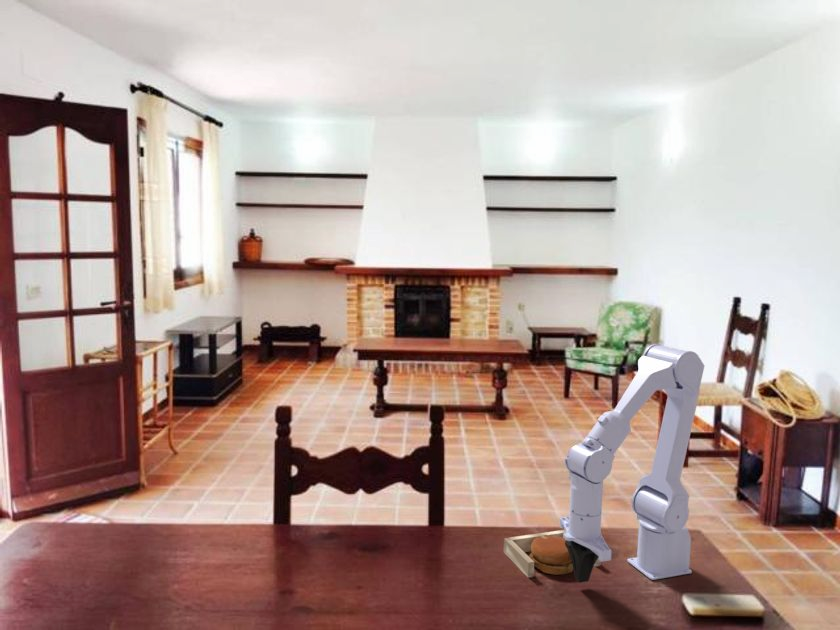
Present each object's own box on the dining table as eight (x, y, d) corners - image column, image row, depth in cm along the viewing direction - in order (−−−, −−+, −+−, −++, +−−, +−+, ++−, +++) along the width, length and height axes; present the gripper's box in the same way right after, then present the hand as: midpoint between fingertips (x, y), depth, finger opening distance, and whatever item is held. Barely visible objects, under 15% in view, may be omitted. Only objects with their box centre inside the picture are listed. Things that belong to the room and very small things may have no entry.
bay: (571, 542, 143) (572, 528, 143) (600, 565, 133) (601, 551, 133) (503, 552, 138) (504, 538, 138) (527, 577, 128) (528, 562, 128)
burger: (559, 581, 127) (560, 558, 127) (519, 564, 134) (520, 541, 133) (587, 563, 134) (588, 541, 134) (547, 548, 141) (548, 527, 140)
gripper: (546, 497, 129) (543, 564, 130) (588, 529, 115) (584, 604, 117) (579, 493, 131) (575, 559, 133) (623, 524, 117) (619, 597, 119)
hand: (582, 580), depth 125 cm, fingers closed
